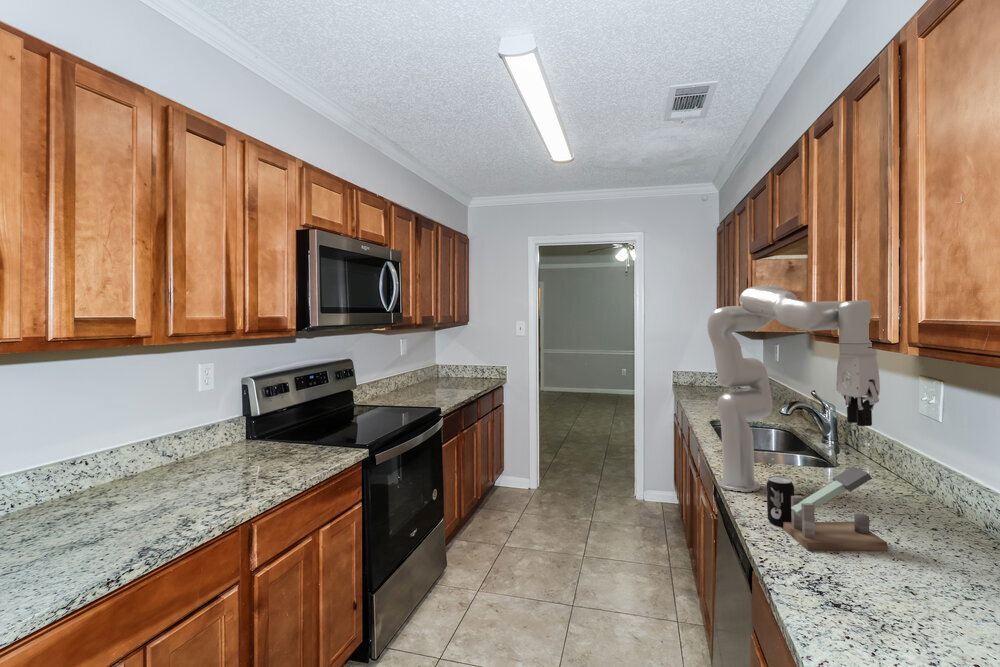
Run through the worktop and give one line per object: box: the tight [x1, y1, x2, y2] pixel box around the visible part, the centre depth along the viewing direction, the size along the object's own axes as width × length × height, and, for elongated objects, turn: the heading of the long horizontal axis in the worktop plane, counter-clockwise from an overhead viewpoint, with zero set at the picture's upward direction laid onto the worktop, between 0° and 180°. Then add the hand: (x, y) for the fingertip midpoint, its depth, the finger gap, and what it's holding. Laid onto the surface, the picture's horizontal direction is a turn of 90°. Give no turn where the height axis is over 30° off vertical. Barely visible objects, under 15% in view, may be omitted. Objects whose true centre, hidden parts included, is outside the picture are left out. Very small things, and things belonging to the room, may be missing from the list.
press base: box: [782, 495, 888, 552], centre depth 123 cm, size 12×18×10 cm, turn 85°
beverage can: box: [766, 475, 795, 527], centre depth 134 cm, size 7×7×12 cm
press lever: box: [791, 465, 873, 517], centre depth 123 cm, size 6×19×2 cm
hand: (859, 423), depth 122 cm, fingers open, 3 cm apart
